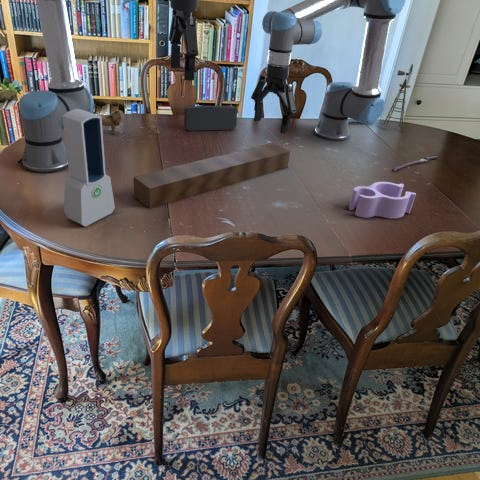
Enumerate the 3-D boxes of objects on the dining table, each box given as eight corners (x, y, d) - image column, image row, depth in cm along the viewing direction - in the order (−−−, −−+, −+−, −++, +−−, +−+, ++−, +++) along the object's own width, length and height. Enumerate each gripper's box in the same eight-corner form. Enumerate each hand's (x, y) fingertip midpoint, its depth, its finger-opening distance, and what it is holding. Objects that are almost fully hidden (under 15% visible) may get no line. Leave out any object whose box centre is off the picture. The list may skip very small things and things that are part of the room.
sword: (433, 155, 200) (434, 153, 199) (439, 158, 198) (440, 155, 197) (387, 170, 184) (387, 168, 183) (393, 173, 182) (394, 171, 181)
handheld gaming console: (234, 127, 207) (236, 105, 202) (236, 129, 205) (238, 107, 200) (183, 128, 200) (184, 105, 195) (185, 131, 198) (185, 107, 192)
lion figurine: (123, 129, 193) (122, 108, 188) (125, 134, 189) (124, 112, 184) (86, 130, 188) (84, 108, 183) (87, 135, 184) (85, 113, 179)
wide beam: (149, 208, 141) (149, 188, 137) (134, 196, 146) (133, 176, 143) (287, 167, 176) (290, 150, 172) (270, 158, 182) (273, 142, 178)
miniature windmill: (401, 131, 224) (420, 67, 208) (384, 129, 225) (401, 64, 209) (400, 126, 231) (418, 63, 215) (383, 123, 232) (399, 60, 216)
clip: (362, 221, 145) (367, 202, 142) (342, 202, 155) (347, 184, 151) (415, 216, 152) (421, 197, 148) (393, 198, 161) (398, 180, 158)
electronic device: (82, 228, 128) (71, 122, 112) (63, 219, 131) (50, 114, 115) (115, 211, 137) (109, 111, 121) (97, 203, 140) (89, 104, 124)
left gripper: (213, 1, 119) (208, 85, 130) (183, -12, 138) (181, 63, 149) (185, -1, 116) (182, 85, 128) (158, -13, 135) (158, 63, 146)
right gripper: (314, 72, 149) (303, 136, 160) (261, 55, 164) (254, 114, 175) (298, 74, 144) (287, 139, 156) (245, 56, 160) (239, 117, 171)
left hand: (182, 74), depth 138 cm, fingers open, 13 cm apart
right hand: (270, 126), depth 166 cm, fingers open, 13 cm apart
